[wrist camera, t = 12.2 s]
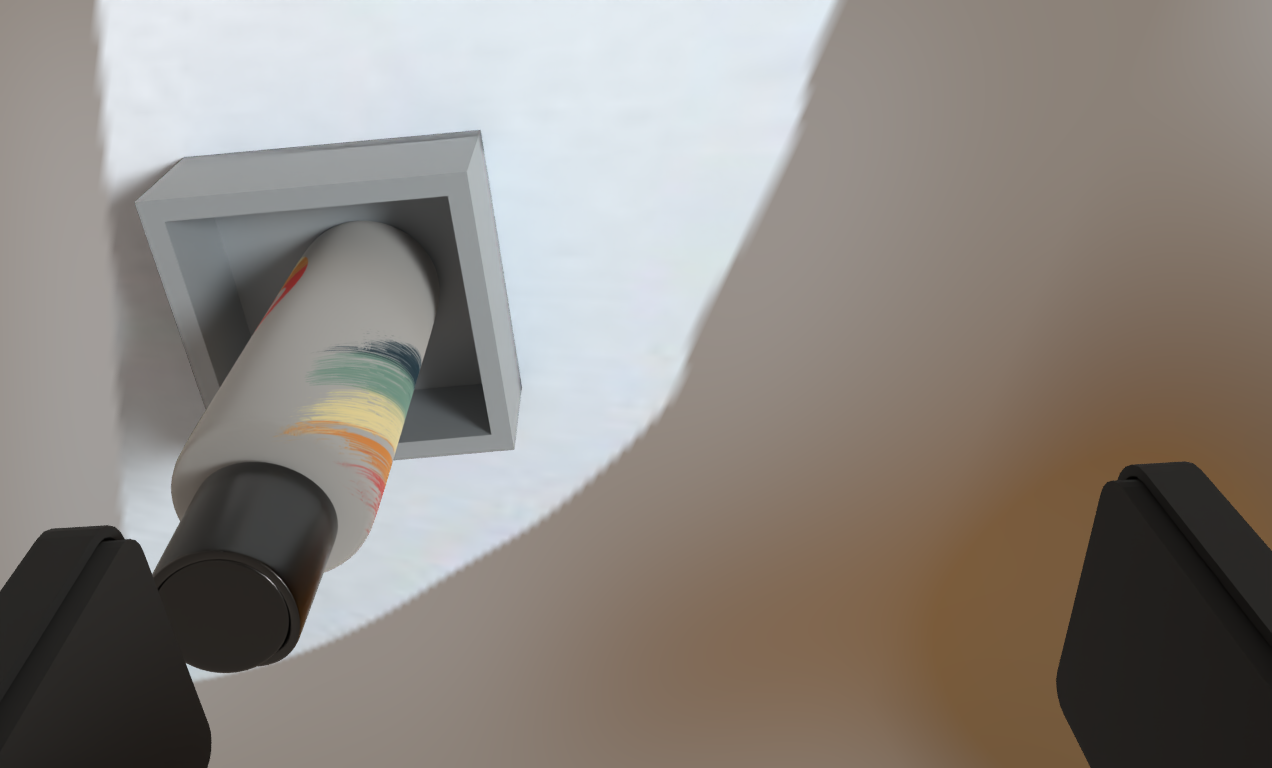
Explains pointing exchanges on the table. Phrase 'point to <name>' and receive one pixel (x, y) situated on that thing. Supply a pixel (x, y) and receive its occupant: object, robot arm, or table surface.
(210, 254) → the box
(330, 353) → the lotion bottle
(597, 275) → the table surface
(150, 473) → the table surface
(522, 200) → the table surface
